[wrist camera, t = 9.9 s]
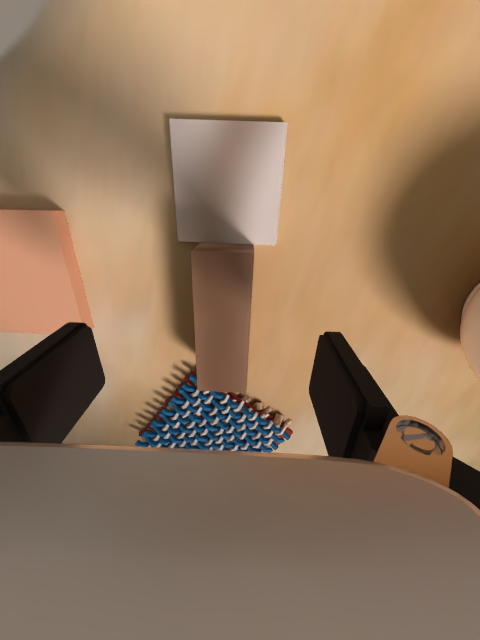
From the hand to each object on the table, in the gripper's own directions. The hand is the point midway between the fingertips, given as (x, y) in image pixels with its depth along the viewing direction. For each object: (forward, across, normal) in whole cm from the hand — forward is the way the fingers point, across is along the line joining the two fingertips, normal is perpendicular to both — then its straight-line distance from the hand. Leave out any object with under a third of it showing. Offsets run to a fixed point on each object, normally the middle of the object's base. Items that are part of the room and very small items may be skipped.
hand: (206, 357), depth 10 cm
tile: (+7, +14, +3) cm, 16 cm away
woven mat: (+8, +1, +13) cm, 15 cm away
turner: (+8, 0, -2) cm, 8 cm away
